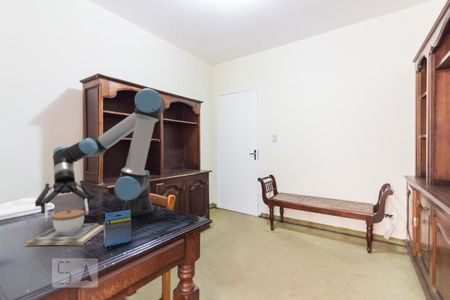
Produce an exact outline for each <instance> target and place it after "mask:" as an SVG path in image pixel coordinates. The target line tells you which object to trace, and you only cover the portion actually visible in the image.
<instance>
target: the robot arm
mask: <svg viewBox="0 0 450 300" xmlns="http://www.w3.org/2000/svg"><path fill="white" fill-rule="evenodd" d="M134 106H135V110H134V112H132V114H129V115H128V116H126V118H124V119H122V120H121V121H120V122H118V123H117V124H115V125H114V126H112V127H111V128H110V129H109V130H107V131H105V132H104V133H102V134H101V135H100V136H98V137H97V138H95V139H92V138H90V137H87V138H84V139H81V140H80V141H79V142H75V143H74V144H72V145H71V146H67V145H61V146H60V145H59V146H57V147H56V148H54V150H53V154H52V161H53V176H54V177H53V179H54V182H53V183H54V184H50V183H48V182H47V183H45V186H44V187H45V188H44V189H43V190H42V192H41V193H40V194H39V195H38V197H37V199H36V200H35V204H34V205H35V207H40V213H41V214H42V215H43V214H44V220H45V221H44V223H45V222H46V223H47V222H49V221H48V219H49V218H48V214H49V213H48V204H50V202H51V201H53V199H55V197H56V196H58V195H59V194H61V195H62V194H71V193H72V194H75V195H76V196H77V197H79V198H81V199H82V200H84V204H83V205H84V212H85V215H86V216H87V215H89V213H90V211H89V208H90V207H91V200H94V198H95V194H94V193H93V192H92V191H91V190H90V189H89V188H88V186H86V184H85V182H84V180H80V181H79V182H77V181H76V178H75V170H74V168H75V167H74V163H76V162H78V161H81V160H82V159H85V158H88V157H99V156H102V155H104V154H105V152H106V151H107V150H108V149H109V148H111V147H112V146H114V145H115V144H116V143H118V142H119V141H120V140H123V139H124V138H125V137H127V136H128V135H130V134H131V133H132V138H131V142H130V145H129V146H130V147H129V150H128V154H127V159H126V164H125V166H124V167H123V168H121V171H120V174H119V178H118V179H117V180H116V181H115V183H114V187H113V188H114V193H115V195H116V196H117V198H119V199H121V200H123V201H125V203H124V204H125V205H124V207H123V210H122V211H127V210H130V211H131V217H136V216H144V215H149V214H150V213H153V211H154V206H153V204H152V200H151V198H150V197H151V196H150V171H149V170H147V169H145V166H146V163H147V158H148V154H149V150H150V146H151V141H152V137H153V133H154V128H155V124H156V123H157V122H159V120H160V116H161V115H162V114H163V113H164V111H165V110H166V109H165V108H166V103H165V99H164V98H163V97H162V96H161V95H160V93H159V92H158V91H157V90H155V89H152V88H148V87H147V88H146V87H145V88H142V89H140V90H139V91H138V92H136V94H135V97H134ZM78 187H79V188H80V189H81V190H80V189H79V188H78ZM52 189H53V191H52V192H51V193H49V191H51V190H52ZM48 193H49V194H48Z"/></svg>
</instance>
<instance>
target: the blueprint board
mask: <svg viewBox="0 0 450 300" xmlns="http://www.w3.org/2000/svg"><path fill="white" fill-rule="evenodd" d="M102 231H104V224H99V223H97V222H95V223H83V225H82V227H81V228H80V229H79V230H78V232H76V233H74V234H71V235H60V233H58V232H56V230H55V229H54V227H52V228H51V229H47V230H46V231H45V232H43V233H41V234H38V235H36V236H35V237H33V238H31V239H29V240H27V241H25V247H35V246H34V245H69V246H84V245H85V244H86V243H88V242H89V241H90V240H91V239H92V237H93V238H94V237H95V236H97V235H98V234H99V233H101V232H102ZM88 240H89V241H88ZM84 243H85V244H84Z"/></svg>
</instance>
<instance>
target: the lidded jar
mask: <svg viewBox="0 0 450 300" xmlns="http://www.w3.org/2000/svg"><path fill="white" fill-rule="evenodd" d="M85 214H86V212H85V210H83V209H70V208H68V209H67V210H64V211H63V210H62V211H59V212H55V213H54V214H53V215H52V217H51V218H52V226H53V228H54V229H55V230H56V232H58V233H60V235H71V234H74V233H76V232H78V230H79V229H80V228H81V227H82V225H83V224H84V221H85Z"/></svg>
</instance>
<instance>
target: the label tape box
mask: <svg viewBox="0 0 450 300" xmlns="http://www.w3.org/2000/svg"><path fill="white" fill-rule="evenodd" d="M118 215H119V216H118ZM131 222H132V216H131V211H130V210H127V211H123V210H120V211H115V212H109V213H108V212H106V213H105V220H104V221H103V225H104V229H103V244H105V245H104V247H105V248H107V246H109V247H112V246H111V245H113V246H117V245H121V244H124V243H129V241H130V242H131V241H132V240H131V239H132V237H131V236H132V233H131V232H132V231H131V230H132V229H131V228H132V223H131ZM120 243H121V244H120ZM116 244H117V245H116Z"/></svg>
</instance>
